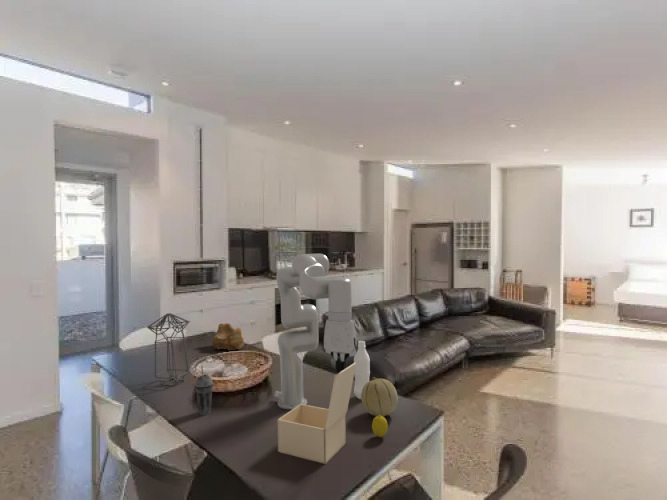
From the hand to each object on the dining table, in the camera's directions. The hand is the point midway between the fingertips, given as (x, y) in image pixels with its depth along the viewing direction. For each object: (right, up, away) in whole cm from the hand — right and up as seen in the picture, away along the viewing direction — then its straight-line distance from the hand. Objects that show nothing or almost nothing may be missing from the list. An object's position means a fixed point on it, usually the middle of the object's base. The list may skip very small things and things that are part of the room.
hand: (341, 372), depth 144 cm
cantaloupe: (+16, -26, +32) cm, 45 cm away
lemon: (+14, -27, +13) cm, 33 cm away
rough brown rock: (-72, -24, +140) cm, 160 cm away
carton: (-10, -28, +6) cm, 30 cm away
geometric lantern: (-83, -26, +75) cm, 115 cm away
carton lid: (0, -7, +1) cm, 8 cm away
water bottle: (+10, -26, +52) cm, 59 cm away
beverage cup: (-55, -27, +37) cm, 72 cm away
